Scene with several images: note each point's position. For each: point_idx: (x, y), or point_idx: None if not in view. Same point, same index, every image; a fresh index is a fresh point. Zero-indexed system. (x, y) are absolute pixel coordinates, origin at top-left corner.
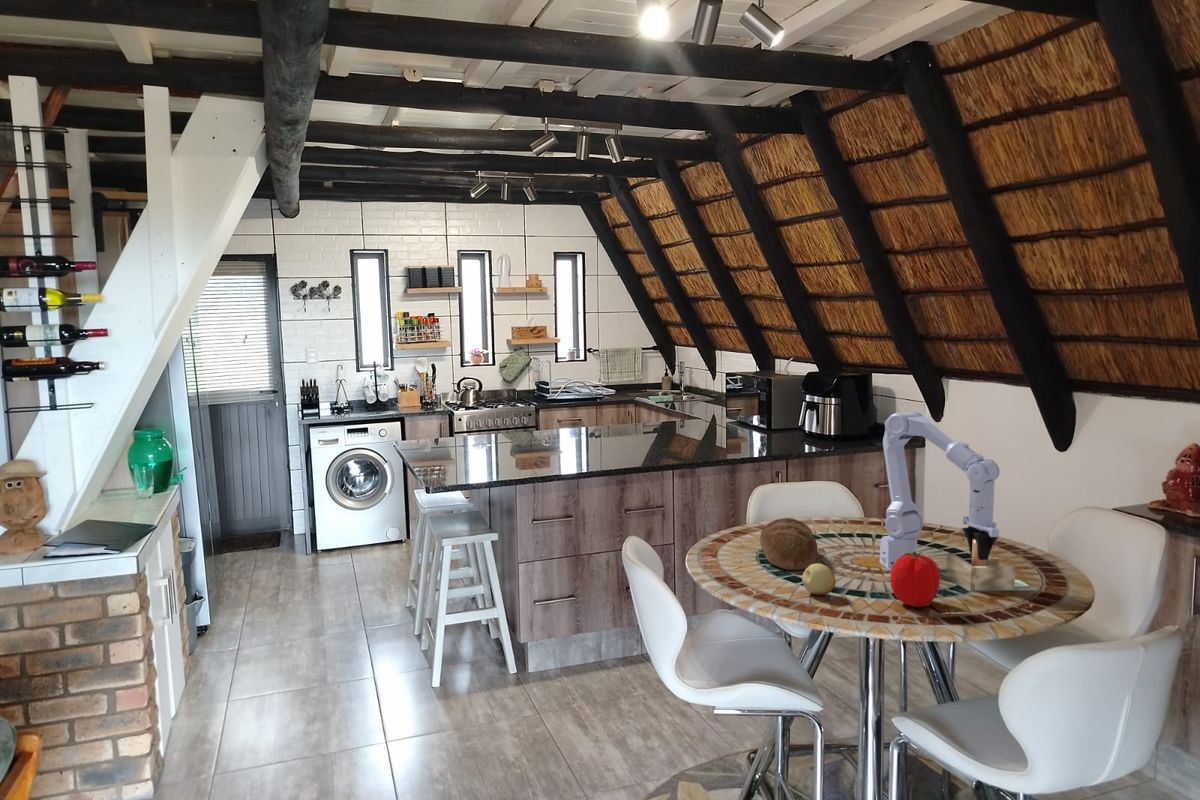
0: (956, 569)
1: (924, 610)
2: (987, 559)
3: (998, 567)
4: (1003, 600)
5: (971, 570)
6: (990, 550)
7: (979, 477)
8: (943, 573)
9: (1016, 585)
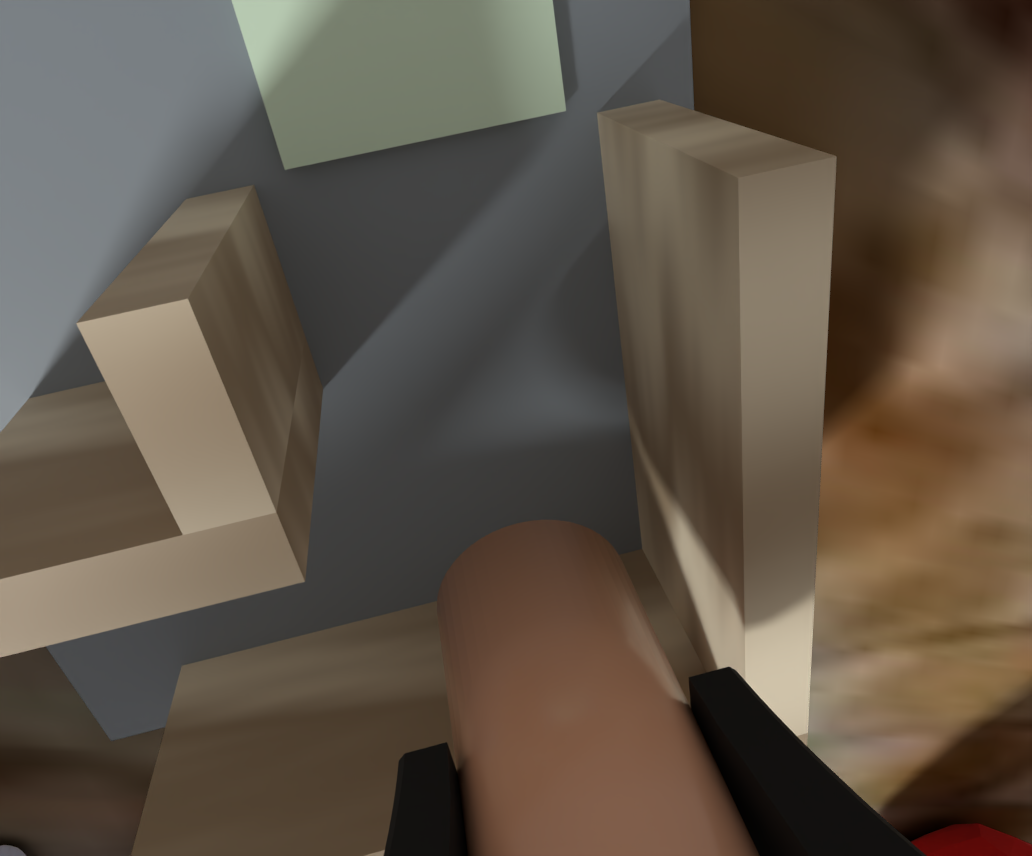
0: None
1: (1003, 819)
2: (732, 669)
3: (818, 467)
4: (926, 329)
5: None
6: (864, 804)
7: None
8: (125, 715)
9: (535, 7)
